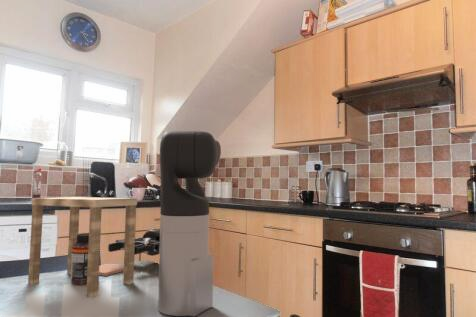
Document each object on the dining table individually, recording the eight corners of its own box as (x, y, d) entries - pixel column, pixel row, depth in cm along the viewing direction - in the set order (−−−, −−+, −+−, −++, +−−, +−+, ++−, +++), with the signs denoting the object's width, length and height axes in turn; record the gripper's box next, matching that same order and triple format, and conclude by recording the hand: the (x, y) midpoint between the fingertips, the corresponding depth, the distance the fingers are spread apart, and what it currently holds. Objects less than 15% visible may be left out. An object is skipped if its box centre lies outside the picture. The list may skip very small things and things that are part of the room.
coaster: (128, 269, 91) (128, 266, 91) (105, 276, 84) (105, 273, 84) (108, 266, 95) (108, 263, 95) (83, 272, 88) (83, 269, 88)
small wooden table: (134, 282, 78) (137, 198, 80) (91, 297, 68) (95, 199, 70) (72, 272, 88) (76, 197, 90) (26, 283, 78) (31, 198, 80)
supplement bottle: (86, 277, 83) (88, 231, 84) (103, 280, 80) (105, 233, 81) (64, 283, 78) (67, 234, 79) (82, 287, 75) (84, 236, 76)
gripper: (143, 227, 107) (102, 233, 93) (179, 230, 100) (141, 236, 86) (143, 251, 106) (101, 260, 92) (179, 255, 100) (140, 266, 85)
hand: (120, 249), depth 89 cm, fingers open, 8 cm apart
